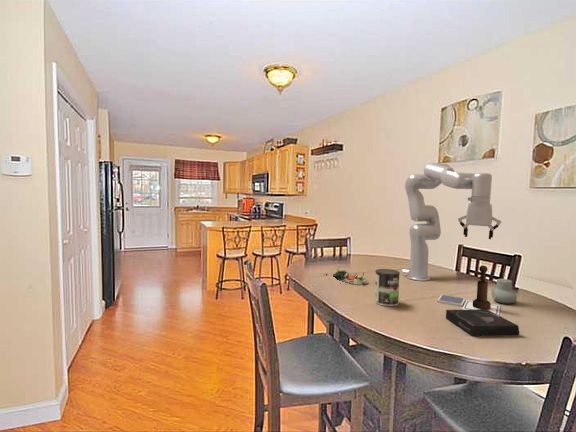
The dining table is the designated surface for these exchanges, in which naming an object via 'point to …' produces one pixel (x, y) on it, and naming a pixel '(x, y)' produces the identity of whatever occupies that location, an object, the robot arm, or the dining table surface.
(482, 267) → the brown wooden tall piece
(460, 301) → the pad
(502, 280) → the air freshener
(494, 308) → the paper sheet
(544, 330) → the dining table surface
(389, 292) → the coffee can
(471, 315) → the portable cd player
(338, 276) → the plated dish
